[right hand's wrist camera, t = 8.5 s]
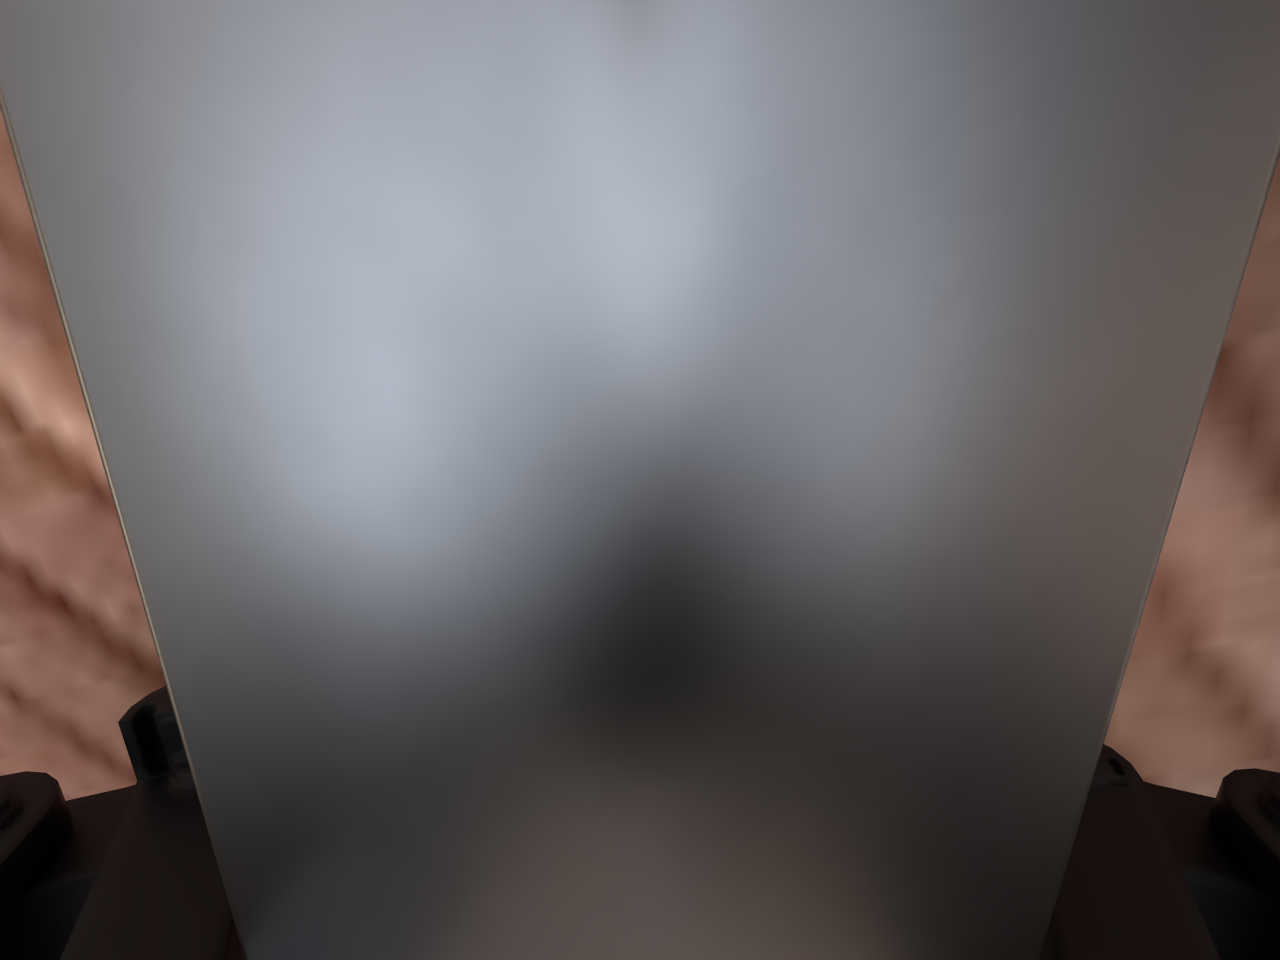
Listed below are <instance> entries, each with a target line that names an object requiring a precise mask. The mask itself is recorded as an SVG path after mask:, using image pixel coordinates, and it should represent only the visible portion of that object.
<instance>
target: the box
mask: <svg viewBox="0 0 1280 960" xmlns="http://www.w3.org/2000/svg"><path fill="white" fill-rule="evenodd" d="M0 108H1V111H2V115H3V118H4V122H5V125H6V129H7V132H8V136H9V139H10V143H11V146H12V150H13V153H14V157H15V160H16V164H17V167H18V171H19V174H20V178H21V181H22V185H23V188H24V192H25V195H26V198H27V202H28V205H29V209H30V212H31V216H32V219H33V223H34V226H35V230H36V233H37V237H38V240H39V244H40V247H41V251H42V254H43V258H44V261H45V265H46V268H47V272H48V275H49V279H50V282H51V286H52V289H53V293H54V296H55V300H56V303H57V306H58V310H59V313H60V317H61V320H62V324H63V327H64V331H65V334H66V338H67V341H68V345H69V348H70V352H71V355H72V359H73V362H74V366H75V369H76V373H77V376H78V380H79V383H80V387H81V390H82V394H83V397H84V401H85V404H86V408H87V411H88V414H89V418H90V421H91V425H92V428H93V432H94V435H95V439H96V442H97V446H98V449H99V453H100V456H101V460H102V463H103V467H104V470H105V474H106V477H107V481H108V484H109V488H110V491H111V495H112V498H113V502H114V505H115V509H116V512H117V516H118V519H119V522H120V526H121V529H122V533H123V536H124V540H125V543H126V547H127V550H128V554H129V557H130V561H131V564H132V568H133V571H134V575H135V578H136V582H137V585H138V589H139V592H140V596H141V599H142V603H143V606H144V610H145V613H146V617H147V620H148V623H149V627H150V630H151V634H152V637H153V641H154V644H155V648H156V651H157V655H158V658H159V662H160V665H161V669H162V672H163V676H164V679H165V683H166V686H167V690H168V693H169V697H170V700H171V704H172V707H173V711H174V714H175V718H176V721H177V725H178V728H179V731H180V735H181V738H182V742H183V745H184V749H185V752H186V756H187V759H188V763H189V766H190V770H191V773H192V777H193V780H194V784H195V787H196V791H197V794H198V798H199V801H200V805H201V808H202V812H203V815H204V819H205V822H206V826H207V829H208V833H209V836H210V839H211V843H212V846H213V850H214V853H215V857H216V860H217V864H218V867H219V871H220V874H221V878H222V881H223V885H224V888H225V892H226V895H227V899H228V902H229V906H230V909H231V913H232V916H233V920H234V923H235V927H236V930H237V934H238V937H239V941H240V944H241V947H242V951H243V954H244V958H245V960H1039V957H1040V954H1041V950H1042V947H1043V943H1044V940H1045V937H1046V933H1047V930H1048V927H1049V923H1050V920H1051V917H1052V913H1053V910H1054V907H1055V903H1056V900H1057V897H1058V893H1059V890H1060V887H1061V883H1062V880H1063V877H1064V873H1065V870H1066V867H1067V863H1068V860H1069V857H1070V853H1071V850H1072V847H1073V843H1074V840H1075V837H1076V833H1077V830H1078V827H1079V823H1080V820H1081V816H1082V813H1083V810H1084V806H1085V803H1086V800H1087V796H1088V793H1089V790H1090V786H1091V783H1092V780H1093V776H1094V773H1095V770H1096V766H1097V763H1098V760H1099V756H1100V753H1101V750H1102V746H1103V743H1104V740H1105V736H1106V733H1107V730H1108V726H1109V723H1110V720H1111V716H1112V713H1113V710H1114V706H1115V703H1116V699H1117V696H1118V693H1119V689H1120V686H1121V683H1122V679H1123V676H1124V673H1125V669H1126V666H1127V663H1128V659H1129V656H1130V653H1131V649H1132V646H1133V643H1134V639H1135V636H1136V633H1137V629H1138V626H1139V623H1140V619H1141V616H1142V613H1143V609H1144V606H1145V603H1146V599H1147V596H1148V593H1149V589H1150V586H1151V583H1152V579H1153V576H1154V572H1155V569H1156V566H1157V562H1158V559H1159V556H1160V552H1161V549H1162V546H1163V542H1164V539H1165V536H1166V532H1167V529H1168V526H1169V522H1170V519H1171V516H1172V512H1173V509H1174V506H1175V502H1176V499H1177V496H1178V492H1179V489H1180V486H1181V482H1182V479H1183V476H1184V472H1185V469H1186V466H1187V462H1188V459H1189V455H1190V452H1191V449H1192V445H1193V442H1194V439H1195V435H1196V432H1197V429H1198V425H1199V422H1200V419H1201V415H1202V412H1203V409H1204V405H1205V402H1206V399H1207V395H1208V392H1209V389H1210V385H1211V382H1212V379H1213V375H1214V372H1215V369H1216V365H1217V362H1218V359H1219V355H1220V352H1221V349H1222V345H1223V342H1224V339H1225V335H1226V332H1227V328H1228V325H1229V322H1230V318H1231V315H1232V312H1233V308H1234V305H1235V302H1236V298H1237V295H1238V292H1239V288H1240V285H1241V282H1242V278H1243V275H1244V272H1245V268H1246V265H1247V262H1248V258H1249V255H1250V252H1251V248H1252V245H1253V242H1254V238H1255V235H1256V232H1257V228H1258V225H1259V222H1260V218H1261V215H1262V211H1263V208H1264V205H1265V201H1266V198H1267V195H1268V191H1269V188H1270V185H1271V181H1272V178H1273V175H1274V171H1275V168H1276V165H1277V161H1278V158H1279V155H1280V0H0Z"/></svg>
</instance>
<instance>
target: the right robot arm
mask: <svg viewBox="0 0 1280 960" xmlns="http://www.w3.org/2000/svg"><path fill="white" fill-rule="evenodd" d="M118 723H119V726H120V729H121V732H122V736H123V739H124V742H125V745H126V748H127V751H128V754H129V757H130V760H131V763H132V766H133V769H134V772H135V775H136V778H137V783H136V785H133V786H129V787H126V788H121V789H117V790H113V791H108V792H104V793H99V794H95V795H90V796H86V797H81V798H77V799H72V800H68V801H65V799H64V796H63V794H62V791H61V788H60V786H59V783H58V781H57V780H56V779H54V778H53V777H51V776H50V775H49V774H47V773H41V772H27V771H25V772H20V773H15V774H9V775H4V776H0V960H245V958H244V954H243V951H242V947H241V944H240V941H239V937H238V934H237V930H236V927H235V923H234V920H233V916H232V913H231V909H230V906H229V902H228V899H227V895H226V892H225V888H224V885H223V881H222V878H221V874H220V871H219V867H218V864H217V860H216V857H215V853H214V850H213V846H212V843H211V839H210V836H209V833H208V829H207V826H206V822H205V819H204V815H203V812H202V808H201V805H200V801H199V798H198V794H197V791H196V787H195V784H194V780H193V777H192V773H191V770H190V766H189V763H188V759H187V756H186V752H185V749H184V745H183V742H182V738H181V735H180V731H179V728H178V725H177V721H176V718H175V714H174V711H173V707H172V704H171V700H170V697H169V693H168V690H167V686H165V687H163V688H161V689H159V690H156V691H154V692H152V693H150V694H149V695H147V696H146V697H144V698H143V699H142V700H140V701H139V702H137V703H136V704H134V705H133V706H132V707H130V709H129V710H128V711H127V712H126V713H125V715H124V716H123V717H122V718H121V719H120V721H119V722H118ZM1039 960H1280V773H1277V772H1272V771H1267V770H1261V769H1256V768H1254V769H1241V770H1234V771H1233V772H1231V773H1230V774H1228V775H1227V776H1225V777H1224V778H1223V780H1222V783H1221V786H1220V788H1219V791H1218V794H1217V796H1216V798H1212V797H1208V796H1203V795H1199V794H1194V793H1190V792H1185V791H1181V790H1176V789H1172V788H1167V787H1163V786H1158V785H1154V784H1151V783H1147V782H1144V781H1143V780H1142V778H1141V777H1140V776H1139V774H1138V773H1137V771H1136V770H1135V769H1134V767H1133V766H1132V764H1131V763H1130V762H1128V761H1127V760H1126V759H1125V758H1123V757H1122V756H1121V755H1120V754H1118V753H1117V752H1116V751H1115V750H1113V749H1112V748H1110V747H1108V746H1106V745H1104V744H1103V746H1102V750H1101V753H1100V756H1099V760H1098V763H1097V766H1096V770H1095V773H1094V776H1093V780H1092V783H1091V786H1090V790H1089V793H1088V796H1087V800H1086V803H1085V806H1084V810H1083V813H1082V816H1081V820H1080V823H1079V827H1078V830H1077V833H1076V837H1075V840H1074V843H1073V847H1072V850H1071V853H1070V857H1069V860H1068V863H1067V867H1066V870H1065V873H1064V877H1063V880H1062V883H1061V887H1060V890H1059V893H1058V897H1057V900H1056V903H1055V907H1054V910H1053V913H1052V917H1051V920H1050V923H1049V927H1048V930H1047V933H1046V937H1045V940H1044V943H1043V947H1042V950H1041V954H1040V957H1039Z"/></svg>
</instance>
